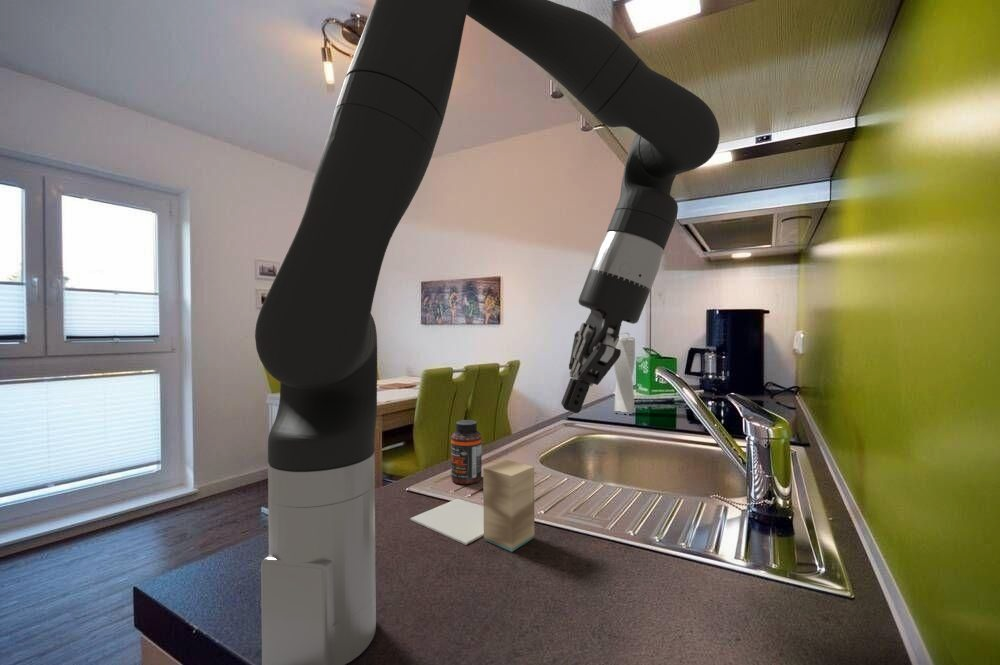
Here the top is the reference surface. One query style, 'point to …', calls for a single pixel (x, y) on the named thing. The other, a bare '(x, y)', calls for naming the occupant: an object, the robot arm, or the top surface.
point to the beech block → (508, 504)
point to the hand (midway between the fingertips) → (569, 409)
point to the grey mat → (455, 520)
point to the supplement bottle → (466, 453)
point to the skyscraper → (625, 375)
